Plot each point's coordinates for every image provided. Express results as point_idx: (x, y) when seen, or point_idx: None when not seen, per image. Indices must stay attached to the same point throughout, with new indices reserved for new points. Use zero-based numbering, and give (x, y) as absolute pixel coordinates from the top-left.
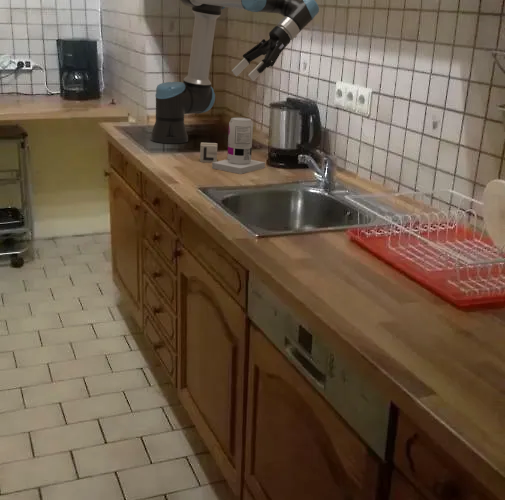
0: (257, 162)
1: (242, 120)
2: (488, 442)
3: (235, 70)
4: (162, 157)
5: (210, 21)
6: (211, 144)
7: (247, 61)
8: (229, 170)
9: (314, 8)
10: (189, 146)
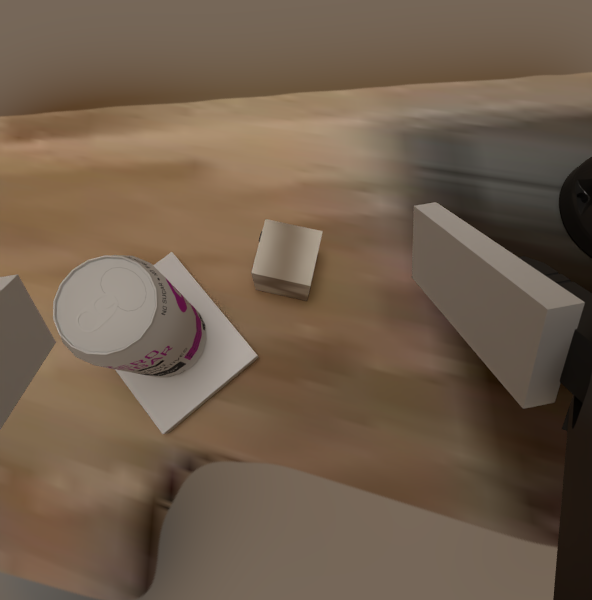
0: (162, 404)
1: (76, 302)
2: None
3: (424, 236)
4: (334, 152)
5: None
6: (285, 259)
7: (568, 381)
8: None
9: None
10: None
